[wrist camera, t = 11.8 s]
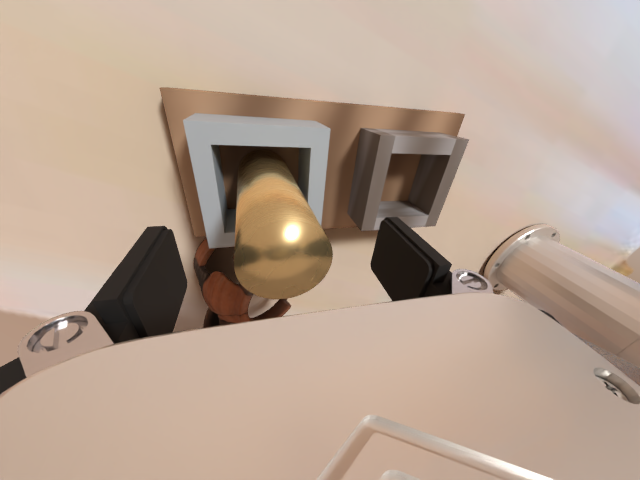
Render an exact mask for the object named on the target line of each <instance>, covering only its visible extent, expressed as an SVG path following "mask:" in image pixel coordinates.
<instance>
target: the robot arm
mask: <svg viewBox="0 0 640 480" xmlns="http://www.w3.org/2000/svg"><path fill="white" fill-rule="evenodd" d="M559 241H560V234H559V231H558V230H557V229H556V228H554V227H552V226H550V225H546V224H537V225H534V226H530V227H528V228H525V229H523V230H521V231H520V232H518V233H516V234H515V235H513V236H512V237H511V238H509V239H508V240H507V241H506V242H504V243H503V244H502V245H501V246H500V247H499V248H498V249H497V250H496V252H495V253H494V254H493V255H492V257H491V258H490V260H489V261H488V263H487V265H486V267H485V270H484V277H483V276H481V275H480V274H478V273H476V272H473V271H470V270H466V269H457V270H455V271H453V273H451V272H450V271H449V270H450V268H451V265H452V264H451V263H450V262H449V261H447V260H446V259H445V258H444V257H443V256H442V255H441V254H439V253H438V252H437V251H436V250H435V249H434V248H433V247H431V246H430V245H429V244H428V243H427V242H426V241H425V240H423V239H422V238H421V237H420V236H419V235H418V234H417V233H416V232H414V231H413V230H412V229H411V228H410V227H409V226H408V225H406V224H405V223H404V222H403V221H402V220H401V219H400V218H398V217H386V218H385V219H384V220H382V221H381V223H380V227H379V231H378V235H377V239H376V244H375V248H374V252H373V256H372V260H371V269H372V271H373V272H374V274H375V275H376V277H377V278H378V280H379V281H380V283H381V284H382V286H383V287H384V289H385V290H386V292H387V293H388V295H389V296H390V298H391V299H392V301H391V302H384V303H377V304H369V305H362V306H355V307H347V308H340V309H333V310H326V311H319V312H311V313H304V314H297V315H290V316H283V317H276V318H269V319H262V320H255V321H248V322H241V323H234V324H227V325H220V326H213V327H206V328H199V329H192V330H185V331H179V332H173V329H174V326H175V323H176V320H177V317H178V314H179V311H180V308H181V304H182V301H183V298H184V295H185V292H186V289H187V279H186V276H185V272H184V269H183V265H182V262H181V258H180V255H179V251H178V248H177V244H176V241H175V237H174V234H173V231H172V230H171V229H167V228H166V227H165V226H154V227H147V228H146V230H145V231H144V232H143V234H142V235H141V236H140V238H139V239H138V240H137V242H136V243H135V244H134V246H133V247H132V248H131V250H130V251H129V252H128V254H127V255H126V256H125V258H124V259H123V260H122V262H121V263H120V264H119V265H118V267H117V268H116V269H115V271H114V272H113V273H112V275H111V276H110V277H109V279H108V280H107V281H106V283H105V284H104V285H103V287H102V288H101V289H100V291H99V292H98V293H97V295H96V296H95V297H94V299H93V300H92V301H91V303H90V304H89V305H88V307H87V308H86V309H85V311H74V312H69V313H65V314H62V315H59V316H56V317H53V318H51V319H49V320H47V321H45V322H43V323H41V324H40V325H38V326H37V327H36V328H34V329H33V330H31V331H30V332H29V333H28V334H27V335H26V336H25V337H24V338H23V339H22V340H21V342H20V344H19V345H18V355H19V358H17V359H15V360H13V361H11V362H9V363H7V364H5V365H4V366H2V367H0V480H640V283H638V282H636V281H634V280H632V279H630V278H628V277H626V276H624V275H622V274H620V273H618V272H616V271H614V270H612V269H610V268H608V267H606V266H604V265H602V264H600V263H598V262H596V261H594V260H592V259H590V258H588V257H586V256H584V255H582V254H580V253H578V252H576V251H574V250H572V249H570V248H568V247H566V246H564V245H562V244H560V243H559ZM493 289H494V290H506V289H509V290H510V291H512V292H513V293H514V294H515V295H517V296H518V297H519V298H521V299H522V300H523V301H522V300H519V299H516V298H512V297H508V296H504V295H498V294H495V293H493ZM172 332H173V333H172Z"/></svg>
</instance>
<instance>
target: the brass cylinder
mask: <svg viewBox="0 0 640 480" xmlns="http://www.w3.org/2000/svg"><path fill="white" fill-rule="evenodd" d="M332 255H333V253H332V247H331V244H330V241H329V239H328V237H327V236H326V234H325V232H324V230H323V229H322V227H321V225H320V223H319V222H318V220H317V218H316V216H315V215H314V213H313V211H312V209H311V208H310V206H309V204H308V202H307V201H306V199H305V197H304V195H303V194H302V192H301V190H300V188H299V187H298V185H297V183H296V181H295V180H294V178H293V176H292V174H291V173H290V171H289V169H288V167H287V166H286V164H285V162H284V161H283V159H282V158H281V157H280V156H279V155H278V154H276V153H274V152H272V151H270V150H265V149H259V150H254V151H252V152H250V153H248V154H247V155H246V156H245V157H244V158H243V159H242V160H241V162H240V164H239V168H238V183H237V206H236V228H235V251H234V270H235V274H236V277H237V279H238V281H239V282H240V284H241V285H242V286H243V287H244V288H245V289H247V290H248V291H249V292H251V293H253V294H255V295H257V296H260V297H263V298H268V299H287V298H292V297H295V296H298V295H301V294H303V293H305V292H307V291H309V290H311V289H312V288H314V287H315V286H316V285H317V284H318V283H319V282H321V280H322V279H323V278H324V277H325V275H326V274H327V272H328V270H329V268H330V266H331V263H332Z"/></svg>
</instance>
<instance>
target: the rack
mask: <svg viewBox="0 0 640 480" xmlns="http://www.w3.org/2000/svg"><path fill="white" fill-rule="evenodd" d="M183 123H184V128H185V133H186V138H187V143H188V148H189V153H190V157H191V162H192V167H193V172H194V177H195V182H196V187H197V192H198V197H199V202H200V206H201V211H202V216H203V221H204V226H205V231H206V236H207V241H208V246H209V248H221V247H235V228H236V209H227V202H226V194H225V187H224V180H223V173H222V165H221V158H220V151H219V145H239V146H270V147H299V162H298V187H299V188H300V190H301V192H302V194H303V195H304V197H305V199H306V201H307V202H308V204H309V206H310V208H311V209H312V211H313V213H314V215H315V216H316V218H317V220H318V222H319V223H320V225H321V222H322V212H323V201H324V191H325V181H326V170H327V160H328V150H329V139H330V128H328V127H326V126H325V125H323V124H321V123H319V122H317V121H310V120H295V119H279V118H264V117H248V116H232V115H217V114H201V113H195V114H193V115H191V116H189V117H188V118H186V119H184V120H183Z"/></svg>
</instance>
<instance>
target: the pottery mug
mask: <svg viewBox="0 0 640 480" xmlns="http://www.w3.org/2000/svg"><path fill="white" fill-rule="evenodd" d="M214 250H215V248H209V246H208V241H207V239H205V240H204V241H203V242H202V243H201V244H200V246H199V248H198V249H197V252H196V254H195V258H194V268H195V271H196V275H197V277H198V280H199V285H200V287H201V291H202V295H203V297H204V299H205V302H206V304H207V305H208V307H209V308H208V310H207V313H206V316H205V320H204V327H203V328H206V327H213V326H220V325H227V324H234V323H241V322H248V321H255V320H262V319H269V318H276V317H282V316H283V315H284V314H285V313H286V312H287V311H288V310H289V309H290V307H291V305H290V304H289V303H288V302H287V299H279V300H278V302H277V303H276V304H275V305H274V306H273V307H271V308H270V309H269V310H267V311H266V312H264V313H263V314H261V315H259V316H256V317H254V318H249V316H248V312H247V311H248V306H249V303H250V300H251V297H252V295H253V293H251V292H249V291H248V290H247V289H245V288H244V287H243V286H242V285H241V284H240V282H239V284H237V283H234V282H233V281H231V280H230V279H229V278H228V277H227V276H226V275H225V274H224V273H222V272H218V271H215V272H213V273H212V274H211V275H210V273H208V272H207V271H206V269H205V264H206V263H207V260H208V259H209V257H210V256H211V254H212V253H213V251H214ZM233 259H234V256H233Z"/></svg>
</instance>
